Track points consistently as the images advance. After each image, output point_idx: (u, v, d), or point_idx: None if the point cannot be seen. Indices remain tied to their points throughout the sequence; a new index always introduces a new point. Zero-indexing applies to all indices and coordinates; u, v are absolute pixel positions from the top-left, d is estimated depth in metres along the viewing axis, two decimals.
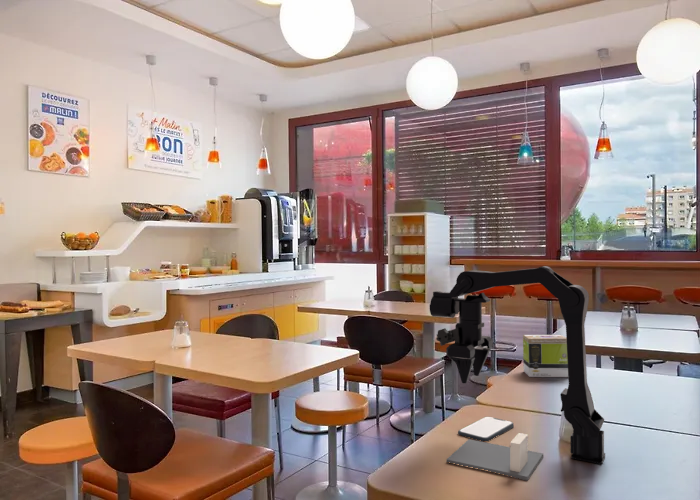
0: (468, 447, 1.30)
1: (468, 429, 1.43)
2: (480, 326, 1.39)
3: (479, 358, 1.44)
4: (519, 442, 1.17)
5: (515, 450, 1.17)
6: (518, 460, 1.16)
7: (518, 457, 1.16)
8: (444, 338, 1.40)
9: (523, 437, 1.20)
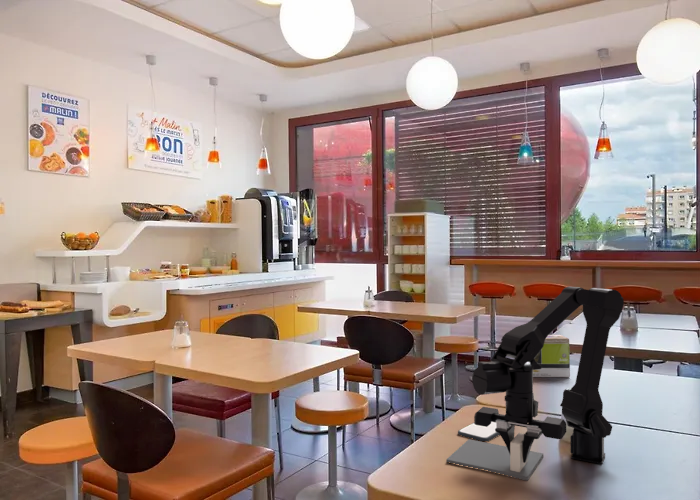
0: (468, 447, 1.30)
1: (468, 429, 1.43)
2: (513, 400, 1.17)
3: None
4: (519, 442, 1.17)
5: (515, 450, 1.17)
6: (518, 460, 1.16)
7: (518, 457, 1.16)
8: None
9: (523, 437, 1.20)
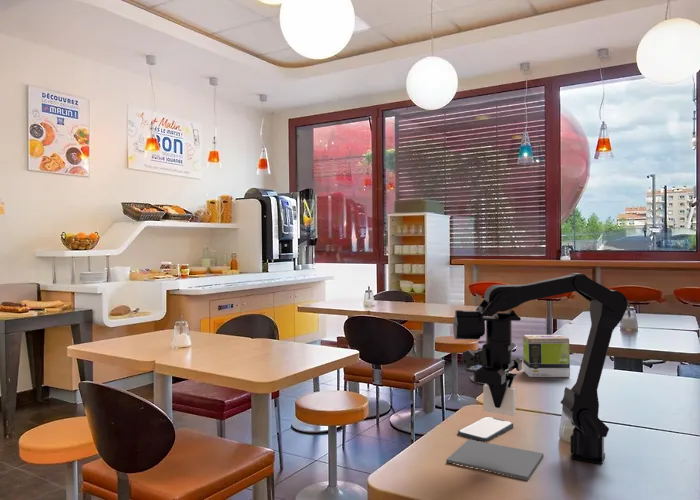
0: (468, 447, 1.30)
1: (468, 429, 1.43)
2: (510, 347, 1.25)
3: None
4: (510, 387, 1.26)
5: (514, 395, 1.25)
6: (515, 403, 1.26)
7: (515, 400, 1.26)
8: (470, 360, 1.26)
9: None
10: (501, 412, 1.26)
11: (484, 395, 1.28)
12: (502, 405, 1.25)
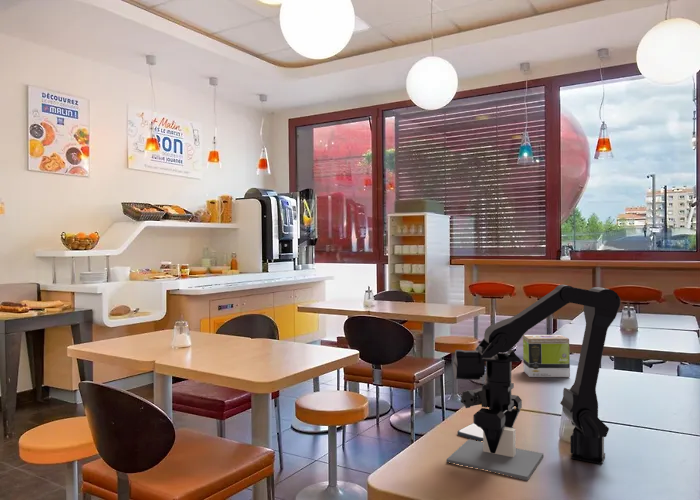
0: (468, 447, 1.30)
1: (467, 429, 1.42)
2: (510, 388, 1.25)
3: (507, 421, 1.31)
4: (510, 428, 1.26)
5: (514, 436, 1.25)
6: (515, 444, 1.26)
7: (515, 441, 1.26)
8: (470, 401, 1.26)
9: None
10: (501, 453, 1.26)
11: (484, 435, 1.28)
12: (501, 446, 1.26)
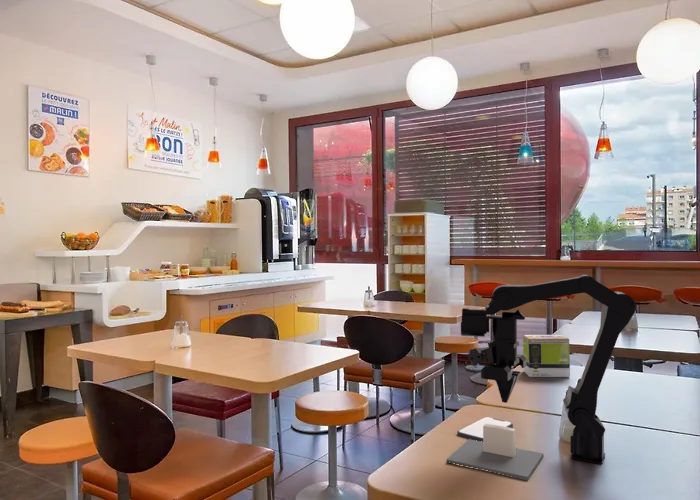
0: (468, 447, 1.30)
1: (467, 430, 1.42)
2: (516, 345, 1.29)
3: None
4: (510, 428, 1.26)
5: (514, 436, 1.25)
6: (515, 444, 1.26)
7: (515, 441, 1.26)
8: (477, 358, 1.30)
9: (495, 425, 1.28)
10: (501, 453, 1.26)
11: (484, 435, 1.28)
12: (501, 446, 1.26)
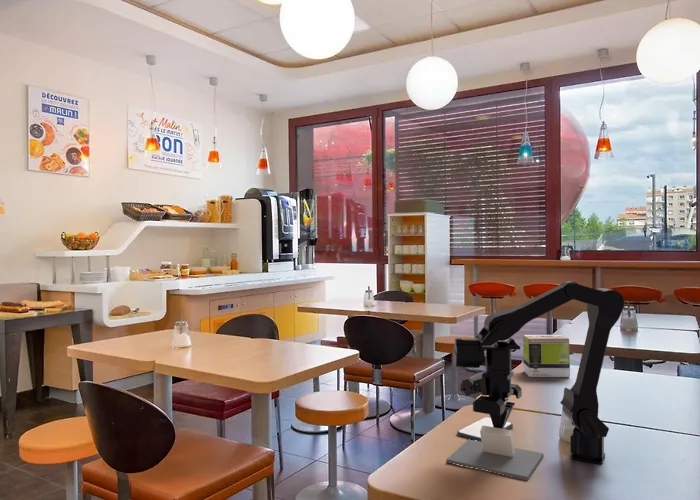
0: (468, 447, 1.30)
1: (467, 430, 1.42)
2: (510, 376, 1.25)
3: None
4: (507, 430, 1.24)
5: (512, 438, 1.24)
6: (513, 444, 1.25)
7: (513, 441, 1.25)
8: (470, 389, 1.26)
9: (492, 428, 1.26)
10: (501, 453, 1.26)
11: (482, 439, 1.27)
12: (500, 448, 1.25)
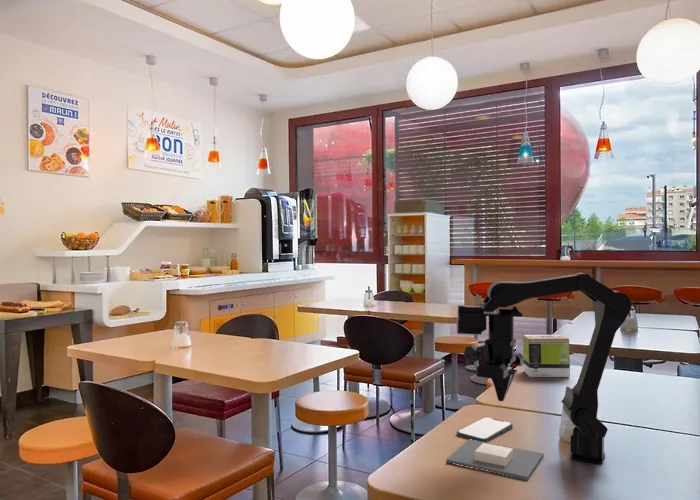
0: (468, 447, 1.30)
1: (467, 430, 1.42)
2: (512, 342, 1.27)
3: None
4: (501, 457, 1.20)
5: (507, 459, 1.20)
6: (510, 453, 1.22)
7: (509, 454, 1.22)
8: (473, 355, 1.28)
9: (485, 454, 1.22)
10: None
11: None
12: None
